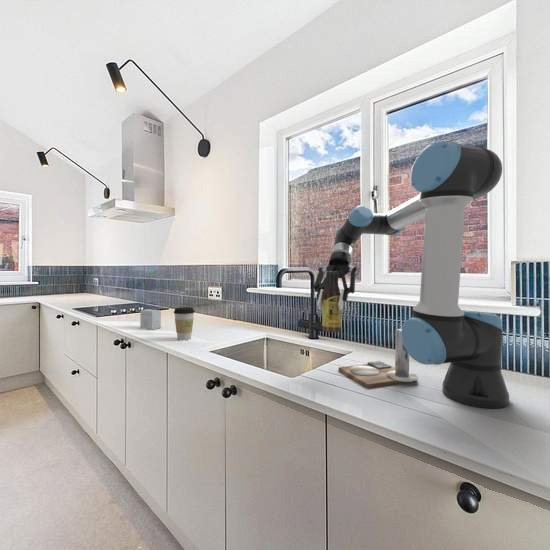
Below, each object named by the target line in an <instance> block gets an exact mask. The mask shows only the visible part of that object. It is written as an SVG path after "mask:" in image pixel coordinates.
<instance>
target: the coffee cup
mask: <svg viewBox="0 0 550 550" xmlns="http://www.w3.org/2000/svg"><path fill="white" fill-rule="evenodd" d="M195 313H196V312H195V310H194V307H188V306H187V307H184V306H183V307H176V308H175V309H174V311H173V314H174V323H175V331H176V336H177V340H178V341H180V340H186V341H189V339H190V340H192V332H193V325H194V315H195Z"/></svg>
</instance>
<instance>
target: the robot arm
mask: <svg viewBox="0 0 550 550" xmlns="http://www.w3.org/2000/svg"><path fill="white" fill-rule="evenodd" d="M502 175H503V164H502V160H501V159H500V157H499V156H498V154H496V152H494V151H492V150H490V149H489V148H485V147H478V146H472V145H467V144H462V143H457V142H455V141H436V142H433V143H431V144H429V145H427V146H426V147H424V149H422V150H421V151H420V152H419V155H418V156H417V157H416V158H415V160H414V162H413V164H412V167H411V171H410V178H409V179H410V184H411V186H413V190H416V192H419V194H418V195H417V196H415V197H413V198H411V199H409V200H408V201H406V202H404V203H402V204H400V205H399V206H397V207H395V208H393V209H391V210H389V211H387V212H386V213H375V212H373V210H372V209H371V208H369V207H366V206H365V205H362V204H360V205H357V206H356V207H353V210H351V212H350V213H349V215H348V217H347V218H346V220H345V222H344V224H343V225H341V226H340V227H338V229H337V231H336V233H335V238H334V242H333V246H332V250H331V252H330V253H331V254H330V257H329V261H328V265H327V266H326V267H319V268H318V273H317V276H316V279H315V281H314V283H313V289H314V293H316V301H317V303H316V306H317V309H318V310H322V308H323V291H324V289H325V287H326V286H327V275H326V272H327V271H332V272H339V276H338V279H341V282H342V285H343V289H341V290H340V293H341V294H340V299H339V303H338V307H339V310H340V311H341V312H342V310H343V307H344V302H347V301H348V297H349V294H354V293H355V291H356V276H357V275H358V268H357V267H356V266H355V267H351V262H352V256H353V252H354V247H355V244H356V243H357V241H358V240H359V238H361V236H362V235H363V234H364V235H365V234H367V235H381V236H382V235H383V236H384V235H385V236H394V235H395V236H396V235H399V234H401V232H402V231H403V229H404V228H406V227H409V226H411V225H412V224H415V223H416V222H418V221H419V222H420V221H421V220H424V225H423V226H424V229H423V241H422V242H423V243H422V245H423V246H422V259H421V260H422V261H421V274H420V275H421V276H420V288H419V292H420V293H419V302H418V303H417V304H416V305H415V306H413V307H412V314H411V318H408V319H407V320H405V322H404V323H403V324H402V325H401V328H400V329H401V337H402V342H403V345H404V347H405V349H406V350H407V352H408V354H409V357H411V358H412V359H413V360H414V361H416V362H417V363H419V364H422V365H433V366H437V365H438V366H439V365H442V364H449V366H448V369H447V371H446V373H445V377H444V379H443V381H442V393H443V394H444V395H445V396H446V397H448V398H450V399H451V400H453V401H456V402H458V403H461V404H464V405H468V406H473V407H478V408H485V409H502V408H506V407H508V406H509V405H510V393H509V391H508V388H507V386H506V385H507V384H506V382H505V378H504V376H503V374H502V355H503V353H502V352H503V349H502V348H503V332H504V329H503V324H502V323H503V321H502V318H501V316H499V315H497V314H493V313H486V312H478V311H473V310H464V309H462V308H461V307H460V306H459V298H460V296H459V295H460V281H461V269H462V268H461V267H462V266H461V265H462V255H463V254H462V253H463V241H464V231H465V230H464V228H465V227H464V226H465V217H466V216H465V215H466V208H467V206H468V205H469V204H470V203H472V201H475V200H477V199H479V198H481V197H484V196H485V195H487V194H489V193H490V192H491V191H493V189H495V187H496V186H497V185H498V184H499V181H500V180H501V178H502ZM349 273H350V281H349V287H348V284H347V280H346V275H347V274H349ZM325 275H326V276H325ZM324 276H325V277H324Z"/></svg>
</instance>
